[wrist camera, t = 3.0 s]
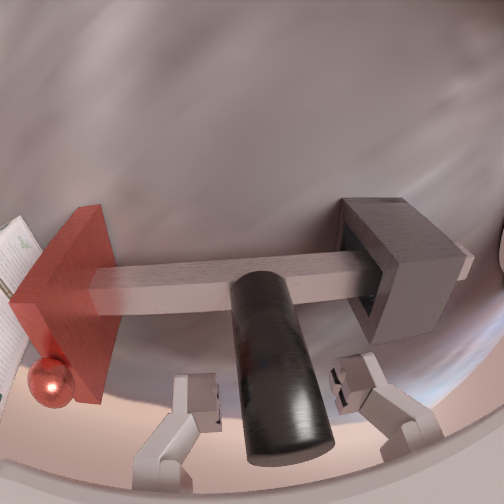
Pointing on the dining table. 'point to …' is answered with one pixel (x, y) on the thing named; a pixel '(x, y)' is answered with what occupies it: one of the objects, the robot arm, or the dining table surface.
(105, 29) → the dining table surface
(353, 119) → the dining table surface
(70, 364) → the linear slider rail
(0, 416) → the syrup box
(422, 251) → the grey hollow block
